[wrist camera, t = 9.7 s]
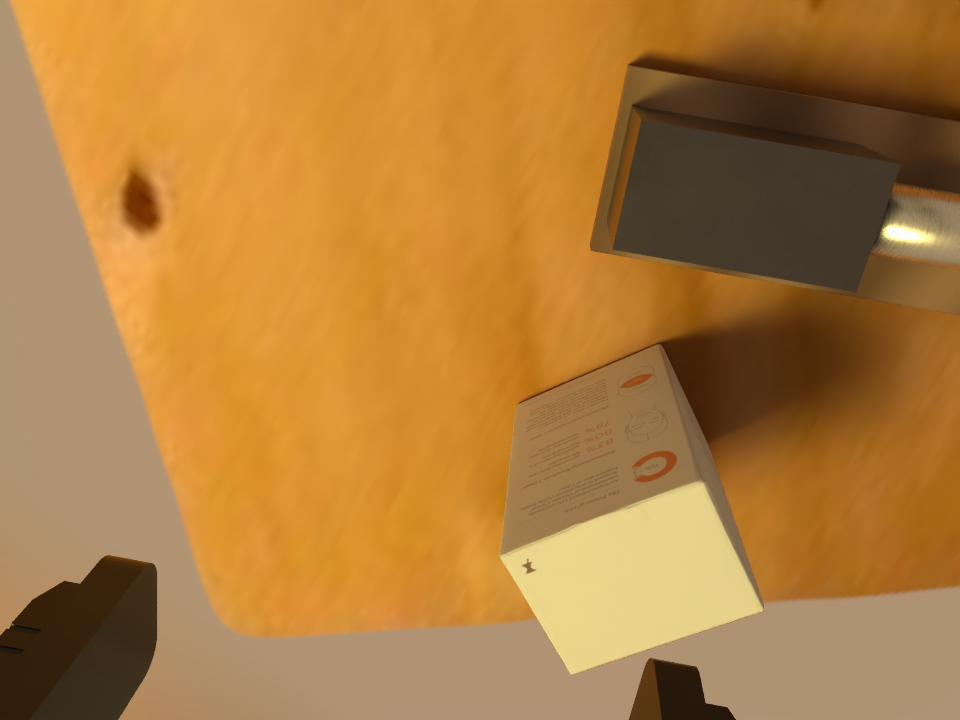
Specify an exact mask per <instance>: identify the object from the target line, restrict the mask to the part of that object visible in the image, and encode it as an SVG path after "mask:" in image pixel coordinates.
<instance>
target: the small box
mask: <svg viewBox="0 0 960 720" xmlns="http://www.w3.org/2000/svg"><path fill="white" fill-rule="evenodd" d="M500 558H501V560H502V561H503V563H504V564H505V566H506V568H507V569H508V571H509V572H510V574H511V575H512V577H513V579H514V580H515V582H516V583H517V585H518V587H519V588H520V590H521V592H522V593H523V595H524V597H525V598H526V600H527V602H528V603H529V605H530V607H531V608H532V610H533V612H534V614H535V615H536V617H537V619H538V620H539V622H540V624H541V625H542V627H543V628H544V630H545V632H546V634H547V635H548V637H549V638H550V640H551V642H552V643H553V645H554V647H555V649H556V650H557V652H558V654H559V655H560V657H561V659H562V660H563V662H564V663H565V665H566V667H567V669H568V670H569V672H570V674H572V675H574V674H577V673H580V672H583V671H585V670H589V669H591V668H594V667H598V666H600V665H604V664H607V663H610V662H613V661H615V660H618V659H622V658H625V657H628V656H631V655H634V654H636V653H639V652H642V651H645V650H649V649H652V648H654V647H657V646H660V645H664V644H666V643H670V642H673V641H676V640H679V639H681V638H684V637H687V636H690V635H693V634H696V633H700V632H703V631H706V630H709V629H711V628H715V627H718V626H721V625H724V624H727V623H730V622H733V621H736V620H739V619H742V618H745V617H748V616H751V615H754V614H757V613H761V612H763V611H764V605H763V602H762V599H761V596H760V592H759V589H758V586H757V583H756V581H755V578H754V575H753V572H752V569H751V566H750V563H749V560H748V557H747V554H746V552H745V549H744V546H743V543H742V540H741V537H740V534H739V532H738V529H737V526H736V523H735V520H734V517H733V514H732V511H731V508H730V505H729V502H728V499H727V497H726V494H725V491H724V488H723V485H722V482H721V479H720V476H719V474H718V471H717V468H716V465H715V462H714V460H713V457H712V454H711V451H710V448H709V446H708V443H707V441H706V439H705V437H704V434H703V432H702V430H701V428H700V426H699V424H698V421H697V419H696V417H695V415H694V413H693V411H692V409H691V406H690V404H689V402H688V400H687V398H686V396H685V393H684V391H683V389H682V387H681V385H680V383H679V380H678V378H677V376H676V374H675V372H674V370H673V368H672V365H671V363H670V361H669V359H668V357H667V355H666V353H665V350H664V349H663V347H662V346H661V344H657V345H655V346H652V347H650V348H648V349H645V350H643V351H640V352H638V353H636V354H633V355H631V356H629V357H626V358H624V359H621V360H619V361H617V362H615V363H612V364H610V365H608V366H605V367H603V368H601V369H598V370H596V371H594V372H591V373H589V374H586V375H584V376H582V377H579V378H577V379H575V380H572V381H570V382H568V383H565V384H563V385H561V386H559V387H556V388H554V389H552V390H549V391H547V392H545V393H542V394H540V395H538V396H536V397H533V398H531V399H529V400H526V401H524V402H522V403H520V404H518V405H516V411H515V420H514V429H513V438H512V446H511V456H510V466H509V476H508V486H507V495H506V505H505V514H504V523H503V532H502V541H501V550H500Z"/></svg>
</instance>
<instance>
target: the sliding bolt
mask: <svg viewBox="0 0 960 720" xmlns="http://www.w3.org/2000/svg"><path fill="white" fill-rule="evenodd" d="M869 256H874V257H880V258H886V259H892V260H897V261H903V262H909V263H915V264H920V265H926V266H932V267H938V268H943V269H949V270H955V271H960V193H954V192H948V191H942V190H937V189H931V188H925V187H919V186H913V185H907V184H902V183H896V182H895V184H894V187H893V190H892V192H891V195H890V198H889V201H888V204H887V207H886V210H885V212H884V215H883V218H882V221H881V224H880V227H879V230H878V232H877V235H876V238H875V241H874V244H873V247H872V250H871V252H870V255H869Z"/></svg>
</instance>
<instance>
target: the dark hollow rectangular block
mask: <svg viewBox="0 0 960 720" xmlns="http://www.w3.org/2000/svg"><path fill="white" fill-rule="evenodd" d="M900 167H901V163H899V162H896V161H894V160H892V159H890V158H888V157H886V156H883V155H881V154H879V153H877V152H875V151H873V150H870V149H868V148H866V147H864V146H862V145H860V144H857V143H851V142H846V141H840V140H834V139H828V138H822V137H816V136H810V135H804V134H799V133H793V132H787V131H781V130H775V129H769V128H763V127H757V126H752V125H746V124H740V123H734V122H728V121H722V120H716V119H711V118H705V117H699V116H693V115H687V114H681V113H675V112H669V111H664V110H658V109H652V108H646V107H640V106H634V105H631V110H630V114H629V119H628V123H627V128H626V133H625V137H624V142H623V146H622V151H621V156H620V160H619V165H618V169H617V174H616V179H615V183H614V188H613V192H612V197H611V202H610V206H609V211H608V215H607V225H608V230H609V235H610V241H611V246H612V250H617V251H623V252H628V253H634V254H640V255H646V256H651V257H657V258H663V259H668V260H674V261H680V262H686V263H691V264H697V265H703V266H709V267H714V268H720V269H726V270H731V271H737V272H743V273H749V274H754V275H760V276H766V277H771V278H777V279H783V280H789V281H794V282H800V283H806V284H811V285H817V286H823V287H829V288H834V289H840V290H846V291H851V292H857V290H858V287H859V284H860V281H861V278H862V275H863V272H864V270H865V267H866V264H867V261H868V258H869V255H870V252H871V250H872V247H873V244H874V241H875V238H876V235H877V232H878V230H879V227H880V224H881V221H882V218H883V215H884V212H885V210H886V207H887V204H888V201H889V198H890V195H891V192H892V190H893V187H894V184H895V181H896V178H897V175H898V172H899V170H900Z"/></svg>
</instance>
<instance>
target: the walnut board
mask: <svg viewBox="0 0 960 720" xmlns="http://www.w3.org/2000/svg"><path fill="white" fill-rule="evenodd" d="M631 105H634V106H640V107H646V108H652V109H658V110H664V111H669V112H675V113H681V114H687V115H693V116H699V117H705V118H711V119H716V120H722V121H728V122H734V123H740V124H746V125H752V126H757V127H763V128H769V129H775V130H781V131H787V132H793V133H799V134H804V135H810V136H816V137H822V138H828V139H834V140H840V141H846V142H851V143H857V144H860V145H862V146H864V147H866V148H868V149H870V150H873V151H875V152H877V153H879V154H881V155H883V156H886V157H888V158H890V159H892V160H894V161H896V162H899V163H901V167H900V170H899V172H898V175H897V178H896V181H895V182H896V183H902V184H907V185H913V186H919V187H925V188H931V189H937V190H942V191H948V192H954V193H960V121H959V120H953V119H947V118H941V117H935V116H929V115H923V114H917V113H911V112H905V111H899V110H894V109H888V108H882V107H876V106H870V105H864V104H858V103H852V102H846V101H840V100H834V99H828V98H823V97H817V96H811V95H805V94H799V93H793V92H787V91H781V90H775V89H769V88H763V87H758V86H752V85H746V84H740V83H734V82H728V81H722V80H716V79H710V78H704V77H698V76H693V75H687V74H681V73H675V72H669V71H663V70H657V69H651V68H645V67H639V66H633V65H628V67H627V72H626V77H625V81H624V86H623V91H622V95H621V100H620V105H619V110H618V114H617V119H616V124H615V128H614V133H613V138H612V143H611V147H610V152H609V157H608V161H607V166H606V171H605V176H604V180H603V185H602V190H601V195H600V199H599V204H598V209H597V213H596V218H595V223H594V228H593V232H592V237H591V242H590V248H591V251H595V252H601V253H606V254H612V255H618V256H624V257H629V258H635V259H641V260H646V261H652V262H658V263H664V264H669V265H675V266H681V267H686V268H692V269H698V270H704V271H709V272H715V273H721V274H726V275H732V276H738V277H744V278H749V279H755V280H761V281H766V282H772V283H778V284H784V285H789V286H795V287H801V288H806V289H812V290H818V291H824V292H829V293H835V294H841V295H846V296H852V297H858V298H864V299H869V300H875V301H881V302H886V303H892V304H898V305H904V306H909V307H915V308H921V309H926V310H932V311H938V312H944V313H949V314H955V315H960V271H955V270H949V269H943V268H938V267H932V266H926V265H920V264H915V263H909V262H903V261H897V260H892V259H886V258H880V257H874V256H869V258H868V261H867V264H866V267H865V270H864V272H863V275H862V278H861V281H860V284H859V287H858V290H857V292H851V291H846V290H840V289H834V288H829V287H823V286H817V285H811V284H806V283H800V282H794V281H789V280H783V279H777V278H771V277H766V276H760V275H754V274H749V273H743V272H737V271H731V270H726V269H720V268H714V267H709V266H703V265H697V264H691V263H686V262H680V261H674V260H668V259H663V258H657V257H651V256H646V255H640V254H634V253H628V252H623V251H617V250H612V246H611V241H610V235H609V230H608V225H607V215H608V211H609V206H610V202H611V197H612V192H613V188H614V183H615V179H616V174H617V169H618V165H619V160H620V156H621V151H622V146H623V142H624V137H625V133H626V128H627V123H628V119H629V114H630V110H631Z"/></svg>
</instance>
